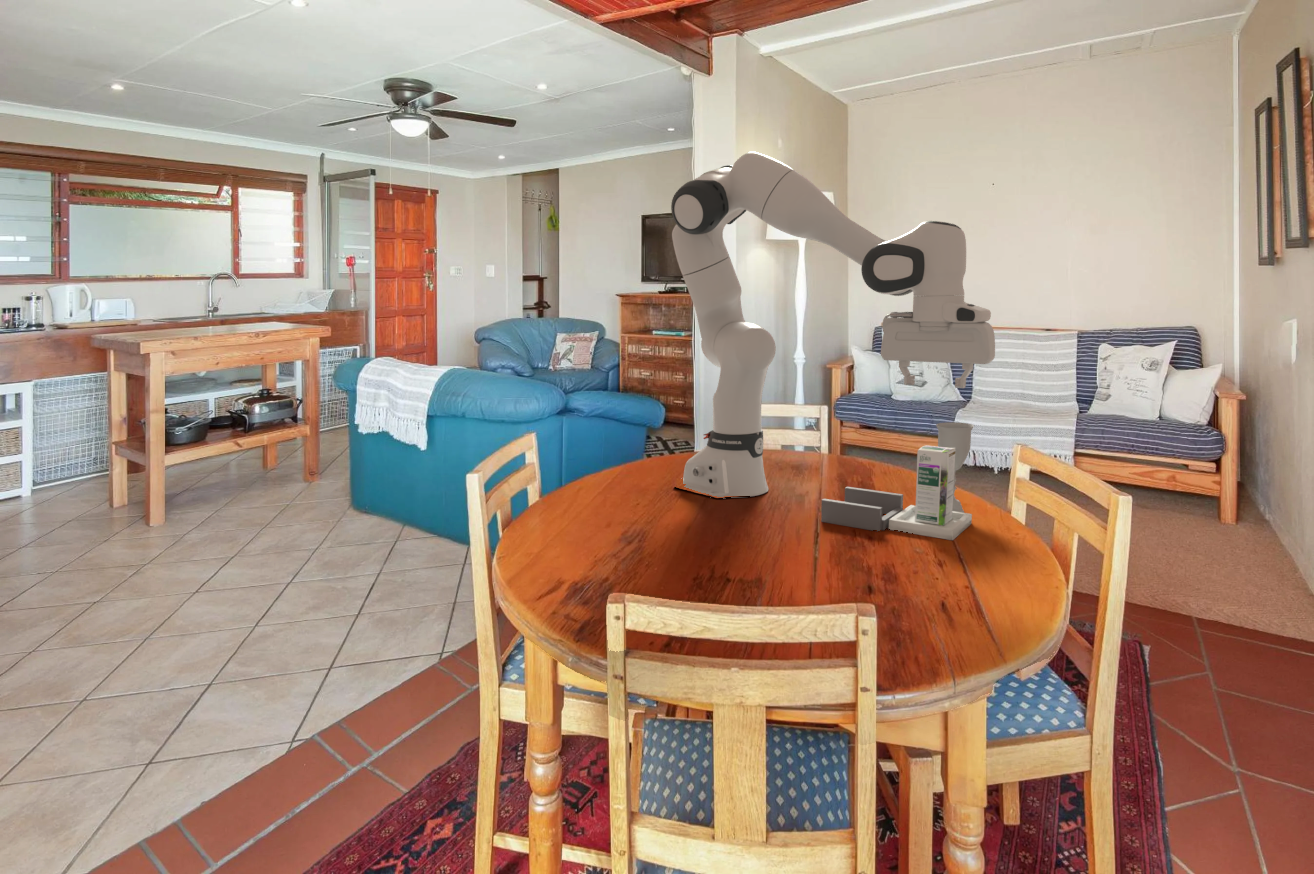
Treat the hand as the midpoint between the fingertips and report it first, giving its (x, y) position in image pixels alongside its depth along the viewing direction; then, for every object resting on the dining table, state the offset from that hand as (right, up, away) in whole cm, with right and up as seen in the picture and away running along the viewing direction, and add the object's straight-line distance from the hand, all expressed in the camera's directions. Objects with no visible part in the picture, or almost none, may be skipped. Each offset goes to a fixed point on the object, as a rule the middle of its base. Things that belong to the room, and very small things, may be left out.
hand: (934, 386), depth 143 cm
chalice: (+9, -25, +14) cm, 30 cm away
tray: (+1, -27, +4) cm, 27 cm away
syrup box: (+2, -26, +6) cm, 27 cm away
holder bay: (-11, -26, +11) cm, 30 cm away
